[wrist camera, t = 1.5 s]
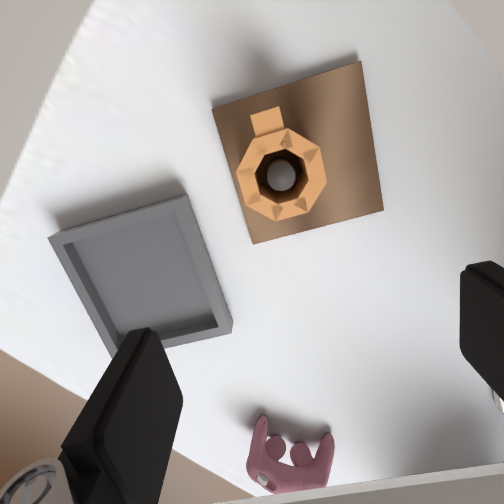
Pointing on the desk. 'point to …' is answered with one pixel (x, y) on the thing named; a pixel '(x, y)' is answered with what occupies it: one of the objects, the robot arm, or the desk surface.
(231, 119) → the base
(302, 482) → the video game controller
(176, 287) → the tray
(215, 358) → the desk surface
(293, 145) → the collar
